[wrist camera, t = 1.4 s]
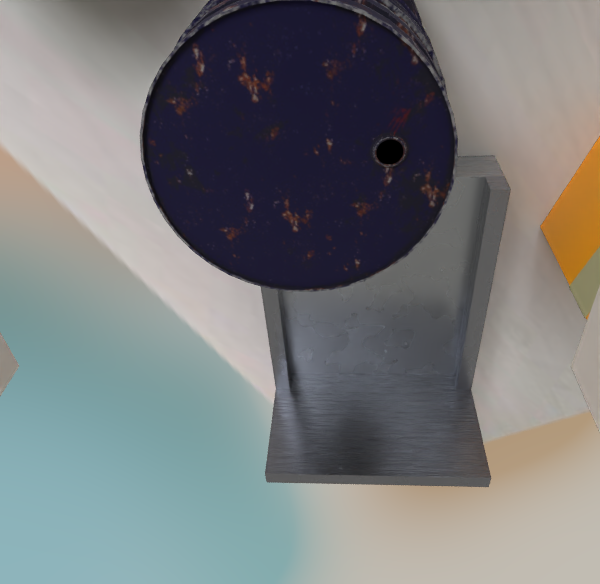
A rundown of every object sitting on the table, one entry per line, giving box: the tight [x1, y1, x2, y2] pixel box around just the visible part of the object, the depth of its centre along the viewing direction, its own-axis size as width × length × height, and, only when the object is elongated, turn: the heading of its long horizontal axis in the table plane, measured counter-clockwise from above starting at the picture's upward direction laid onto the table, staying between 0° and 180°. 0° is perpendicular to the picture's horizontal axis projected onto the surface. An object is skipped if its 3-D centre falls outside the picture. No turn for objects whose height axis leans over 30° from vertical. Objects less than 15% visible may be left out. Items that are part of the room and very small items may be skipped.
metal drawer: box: [261, 156, 510, 487], centre depth 33 cm, size 17×14×11 cm
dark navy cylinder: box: [140, 0, 458, 292], centre depth 22 cm, size 10×10×15 cm
